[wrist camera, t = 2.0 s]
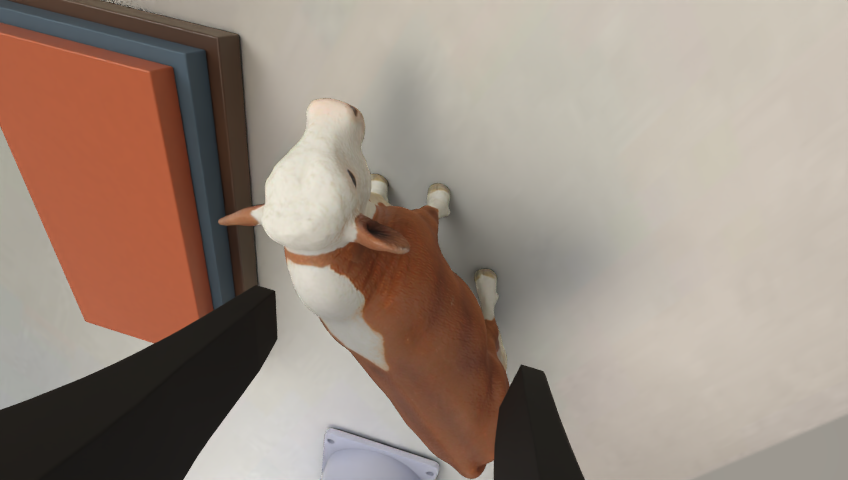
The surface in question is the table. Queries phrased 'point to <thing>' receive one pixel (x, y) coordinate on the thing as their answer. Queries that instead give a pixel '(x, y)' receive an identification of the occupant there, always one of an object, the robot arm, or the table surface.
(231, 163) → the bottom plank
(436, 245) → the bull figurine
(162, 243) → the top plank
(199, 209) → the middle plank
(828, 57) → the table surface
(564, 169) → the table surface
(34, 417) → the robot arm
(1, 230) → the table surface
